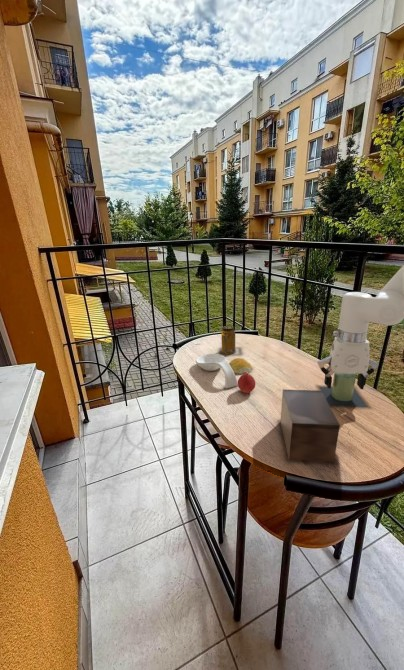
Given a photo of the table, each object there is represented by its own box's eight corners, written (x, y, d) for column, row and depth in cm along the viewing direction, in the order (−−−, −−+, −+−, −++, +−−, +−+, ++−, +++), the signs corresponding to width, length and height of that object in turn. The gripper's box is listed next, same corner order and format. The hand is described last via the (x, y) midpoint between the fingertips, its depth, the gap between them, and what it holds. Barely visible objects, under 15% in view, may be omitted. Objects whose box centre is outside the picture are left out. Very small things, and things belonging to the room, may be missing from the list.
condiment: (220, 349, 129) (220, 324, 124) (239, 349, 128) (239, 324, 124) (221, 356, 122) (220, 330, 118) (240, 355, 121) (241, 329, 117)
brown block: (317, 424, 77) (321, 390, 73) (333, 464, 64) (339, 425, 60) (280, 423, 79) (282, 389, 75) (288, 461, 66) (292, 423, 62)
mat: (353, 389, 93) (353, 387, 93) (367, 408, 83) (368, 407, 83) (319, 388, 95) (319, 386, 95) (328, 407, 85) (329, 405, 84)
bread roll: (243, 362, 115) (244, 354, 114) (253, 372, 107) (254, 363, 105) (225, 366, 113) (225, 357, 111) (233, 376, 105) (233, 366, 103)
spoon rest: (191, 364, 115) (190, 348, 113) (217, 359, 119) (216, 343, 117) (217, 392, 95) (217, 373, 92) (247, 384, 99) (247, 366, 96)
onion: (234, 392, 94) (234, 371, 92) (246, 386, 97) (246, 366, 95) (246, 400, 90) (246, 378, 87) (258, 394, 93) (259, 372, 90)
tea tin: (348, 391, 91) (351, 369, 88) (355, 401, 86) (359, 378, 83) (328, 390, 92) (331, 368, 89) (334, 401, 86) (338, 378, 84)
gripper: (324, 339, 79) (318, 392, 85) (390, 340, 77) (379, 394, 83) (317, 330, 86) (312, 380, 92) (377, 330, 84) (368, 381, 90)
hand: (343, 386), depth 87 cm, fingers open, 9 cm apart
